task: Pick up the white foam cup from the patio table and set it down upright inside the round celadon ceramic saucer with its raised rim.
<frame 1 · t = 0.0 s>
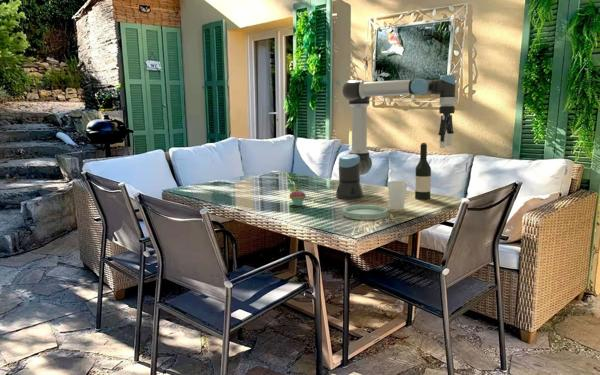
hand: (445, 147, 235), 28 cm above the table, tool pointing down, fingers open, 13 cm apart
wine bottle: (422, 198, 244), on the table
foam cup: (397, 208, 221), on the table
cupcake: (297, 204, 236), on the table
saucer: (365, 214, 209), on the table
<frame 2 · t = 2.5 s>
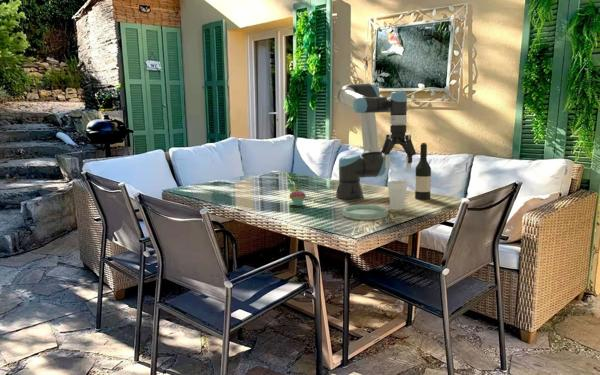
hand: (397, 168, 217), 20 cm above the table, tool pointing down, fingers open, 13 cm apart
nothing on the table moved.
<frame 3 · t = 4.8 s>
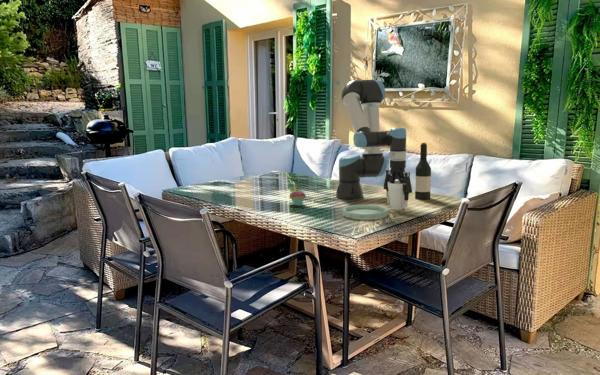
hand: (397, 205, 221), 2 cm above the table, tool pointing down, fingers closed on foam cup, 9 cm apart
foam cup: (397, 208, 221), on the table, touching gripper
everything else where it was.
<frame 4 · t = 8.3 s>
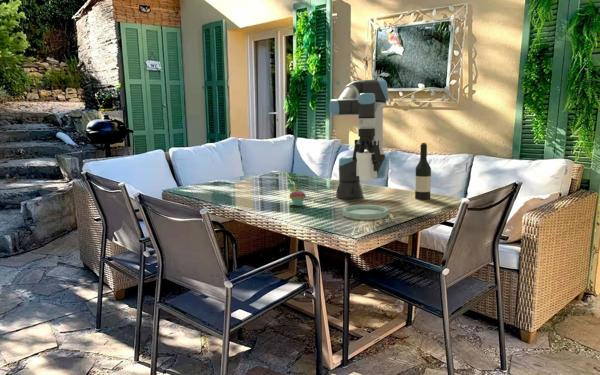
hand: (366, 176, 207), 18 cm above the table, tool pointing down, fingers closed on foam cup, 9 cm apart
foam cup: (366, 180, 207), point 16 cm above the table, touching gripper
everything else where it was.
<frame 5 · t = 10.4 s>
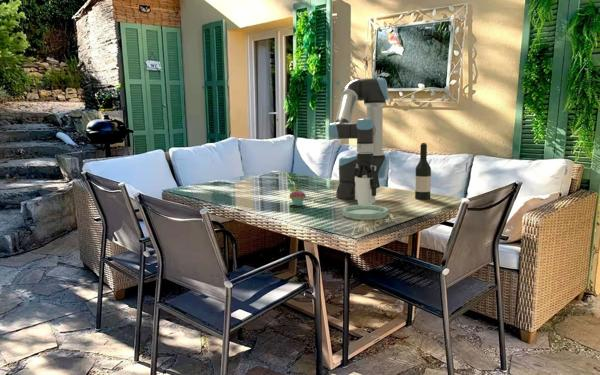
hand: (365, 201, 208), 6 cm above the table, tool pointing down, fingers closed on foam cup, 9 cm apart
foam cup: (364, 204, 208), point 5 cm above the table, touching gripper
everything else where it was.
when the fingers open (4 cm above the table, at t = 11.9 s): foam cup drops 2 cm, resting on saucer.
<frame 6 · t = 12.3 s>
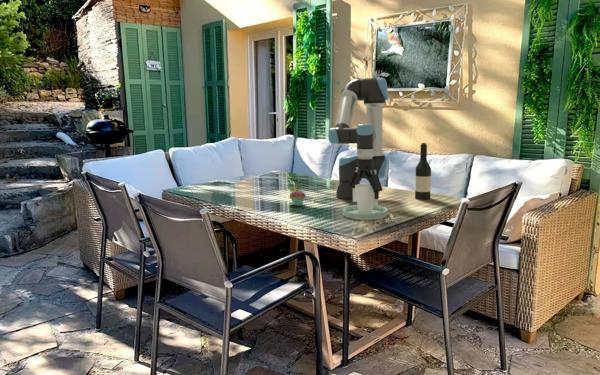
hand: (365, 203, 208), 5 cm above the table, tool pointing down, fingers open, 13 cm apart
foam cup: (365, 213, 209), point 1 cm above the table, touching saucer
everything else where it was.
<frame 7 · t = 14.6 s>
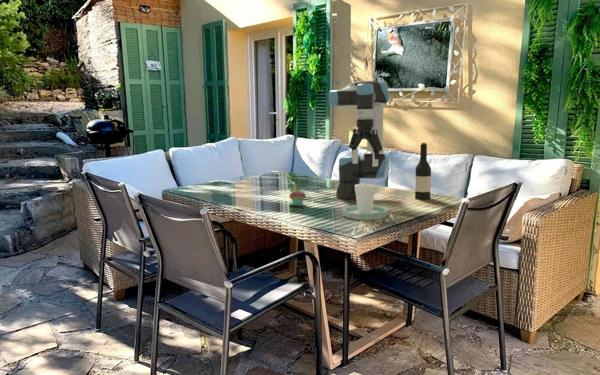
hand: (365, 164, 208), 23 cm above the table, tool pointing down, fingers open, 13 cm apart
nothing on the table moved.
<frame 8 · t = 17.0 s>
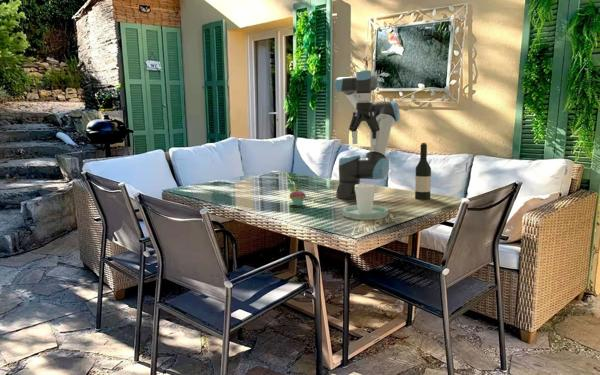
hand: (363, 144, 228), 31 cm above the table, tool pointing down, fingers open, 13 cm apart
nothing on the table moved.
at the end: foam cup inside the target area on the saucer (0.0 cm from its centre), point 0.6 cm above the saucer's base; foam cup tilted 0°; the gripper is holding nothing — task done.
